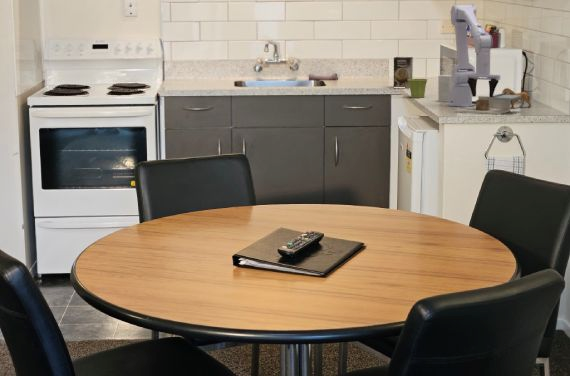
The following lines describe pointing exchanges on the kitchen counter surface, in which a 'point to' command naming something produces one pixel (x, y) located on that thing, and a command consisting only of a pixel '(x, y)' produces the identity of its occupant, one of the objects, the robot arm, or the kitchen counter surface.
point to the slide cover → (506, 97)
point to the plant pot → (417, 87)
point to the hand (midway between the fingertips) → (482, 96)
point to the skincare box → (444, 87)
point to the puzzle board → (494, 106)
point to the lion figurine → (523, 98)
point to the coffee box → (403, 71)
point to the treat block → (482, 105)
